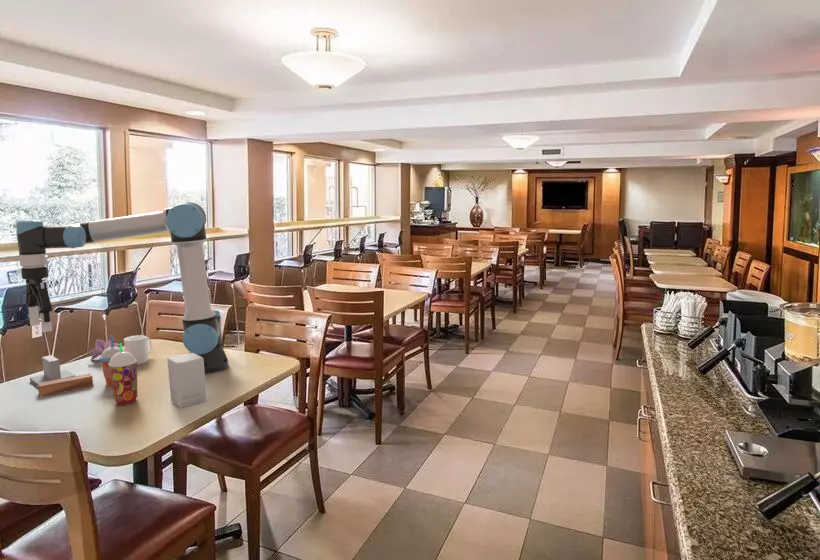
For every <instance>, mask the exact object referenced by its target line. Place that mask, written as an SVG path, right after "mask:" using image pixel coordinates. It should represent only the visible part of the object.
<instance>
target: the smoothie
mask: <svg viewBox="0 0 820 560" xmlns="http://www.w3.org/2000/svg"><path fill="white" fill-rule="evenodd" d="M119 344H120V345H119V347H120V352H118V353H116V354H114V355H113V356H112V358H111V359H110V362H109V364H108V365H109V371H110V376H111V382H112V386H111V387H112V393H113V397H114V401H115V402H116V404H117V405H119V406H126V405H127V404H128V405H131V404H134V403H135V402H137V398H138V364H137V360H136V359H135V358H134V356H133V355H132V354H131V353H129V352H126V351H125V350H124V348H123V343H121V342H120V343H119ZM123 350H124V351H123Z"/></svg>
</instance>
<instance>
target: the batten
mask: <svg viewBox="0 0 820 560" xmlns="http://www.w3.org/2000/svg"><path fill="white" fill-rule="evenodd" d="M90 386H91V387H93V386H94V380H93V375H92V374H91V373H90V372H89V373H85V374H80V375H75V376H74V377H69V378H63V379H58V380H53V381H48V382H43V383H38V387H37V388H38V394H40V395H39V396H40V397H41V396H42V397H46V395H47V396H50V395H51V394H52V395H56V394H55V393H57V394H61V393H60V392H62V393H66V392H69V391H75V390H80V389H85V387H86V388H90ZM65 391H66V392H65Z"/></svg>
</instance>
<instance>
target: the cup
mask: <svg viewBox="0 0 820 560" xmlns="http://www.w3.org/2000/svg"><path fill="white" fill-rule="evenodd" d="M123 345H124V351H126V352H129V353H131V354H132V355H133V356H134V358H135V359H136V360H137V365H142V364H146V363H147V362H148V361H149V355H150V353H151V351H152V349H153V345H152V340H151V339H150V337H147V335H130V336H127V337H125V338H123Z"/></svg>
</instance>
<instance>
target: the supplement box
mask: <svg viewBox="0 0 820 560" xmlns="http://www.w3.org/2000/svg"><path fill="white" fill-rule="evenodd" d="M167 369H168V382H169V392H170V401H171V402H172V403H173V404H175V405H176V406H178V407H179V408H184V407H188V406H193V405H197V404H200V403H203V402H207V387H206V375H205V371H204V358H202V357H200V356H199V355H197V354H195V353H191V352H189V353H184V354H179V355H174V356H170V357H167Z"/></svg>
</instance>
